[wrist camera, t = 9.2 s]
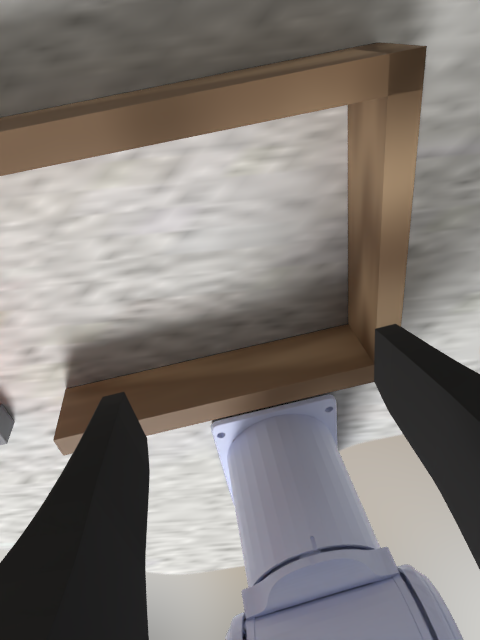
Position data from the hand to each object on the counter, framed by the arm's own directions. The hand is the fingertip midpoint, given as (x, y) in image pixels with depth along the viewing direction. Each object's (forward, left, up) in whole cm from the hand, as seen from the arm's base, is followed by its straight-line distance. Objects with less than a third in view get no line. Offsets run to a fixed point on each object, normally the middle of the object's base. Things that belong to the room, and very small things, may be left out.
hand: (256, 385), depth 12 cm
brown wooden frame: (0, +2, -9) cm, 10 cm away
